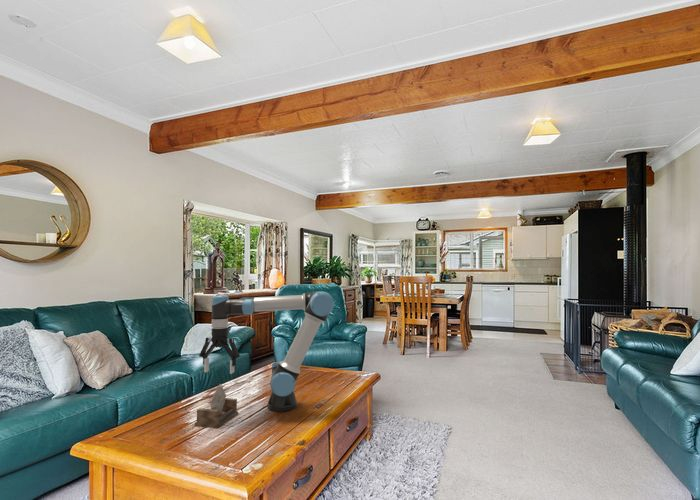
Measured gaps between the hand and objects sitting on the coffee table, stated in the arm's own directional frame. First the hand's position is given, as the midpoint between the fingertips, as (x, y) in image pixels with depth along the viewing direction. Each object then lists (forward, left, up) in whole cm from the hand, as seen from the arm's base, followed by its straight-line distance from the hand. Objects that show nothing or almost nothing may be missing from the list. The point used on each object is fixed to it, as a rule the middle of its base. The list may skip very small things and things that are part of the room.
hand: (219, 372), depth 182 cm
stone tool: (0, 0, -21) cm, 21 cm away
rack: (0, 0, -22) cm, 22 cm away
